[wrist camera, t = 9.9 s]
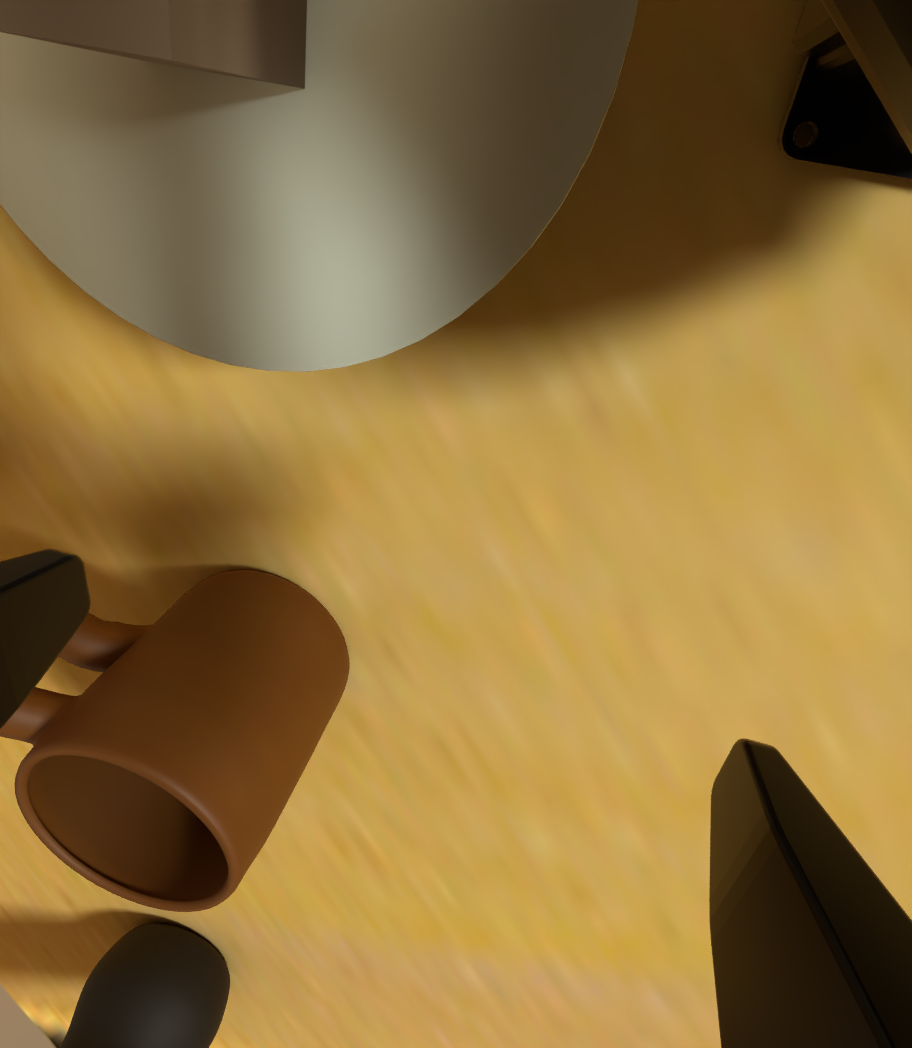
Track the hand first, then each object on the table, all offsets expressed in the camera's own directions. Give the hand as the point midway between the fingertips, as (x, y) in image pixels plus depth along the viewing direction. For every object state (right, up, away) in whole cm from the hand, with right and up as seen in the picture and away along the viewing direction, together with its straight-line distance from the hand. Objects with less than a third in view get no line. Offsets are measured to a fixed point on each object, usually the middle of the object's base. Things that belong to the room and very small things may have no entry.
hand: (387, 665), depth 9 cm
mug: (-9, -1, +19) cm, 20 cm away
